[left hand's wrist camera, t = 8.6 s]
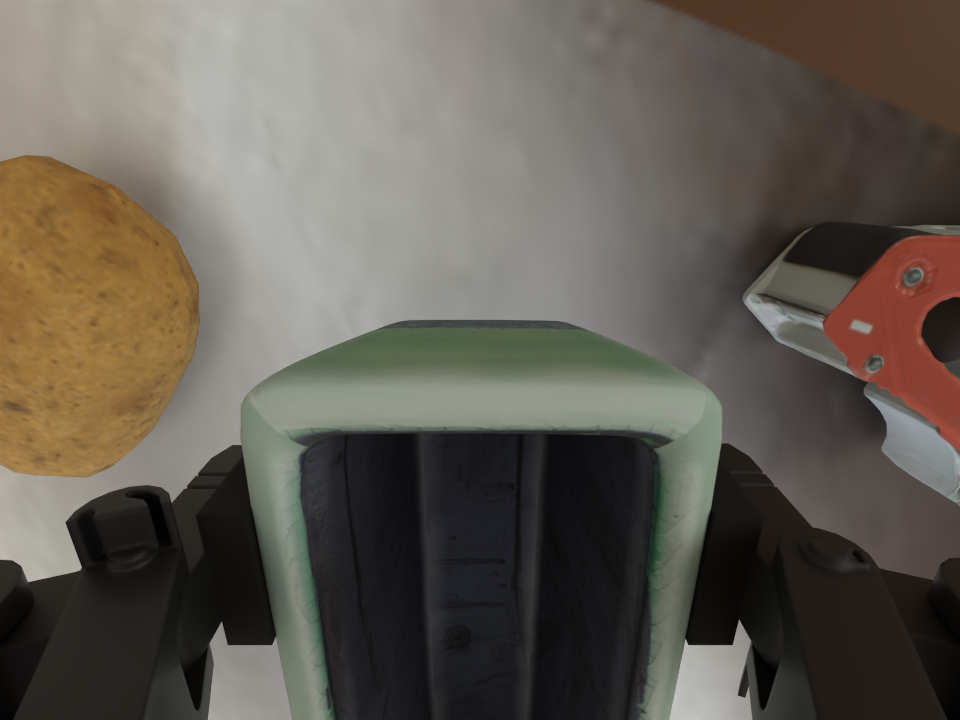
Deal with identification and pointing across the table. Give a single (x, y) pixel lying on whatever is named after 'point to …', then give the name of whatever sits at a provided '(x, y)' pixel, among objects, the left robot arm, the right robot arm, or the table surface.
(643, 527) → the planter
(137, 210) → the potato
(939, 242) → the tape dispenser
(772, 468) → the table surface
